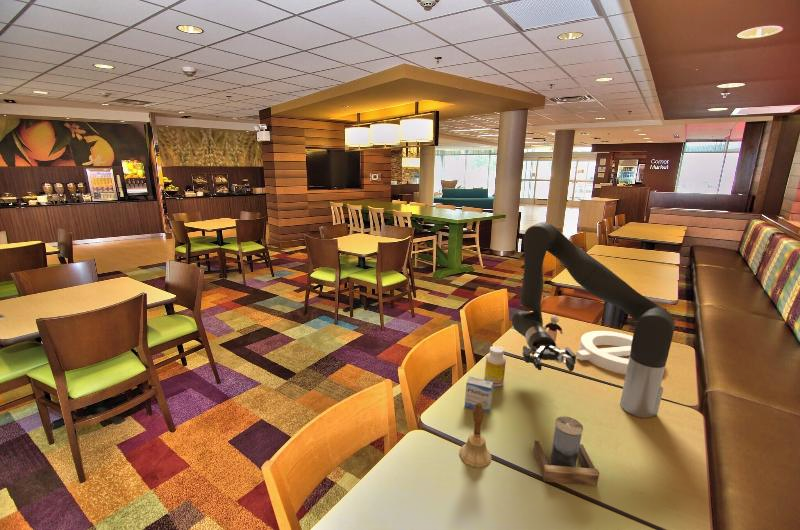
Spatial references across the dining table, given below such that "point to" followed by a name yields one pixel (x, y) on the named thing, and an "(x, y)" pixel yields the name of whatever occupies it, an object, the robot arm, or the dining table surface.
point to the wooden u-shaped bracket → (567, 469)
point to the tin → (566, 442)
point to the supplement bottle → (495, 366)
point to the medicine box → (479, 393)
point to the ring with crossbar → (606, 350)
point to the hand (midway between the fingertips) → (556, 367)
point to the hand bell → (476, 443)
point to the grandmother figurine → (553, 327)
